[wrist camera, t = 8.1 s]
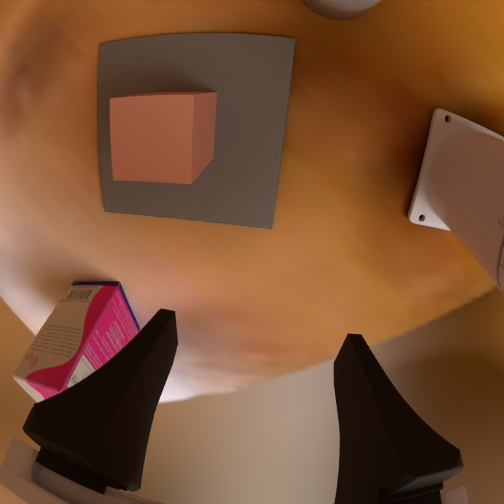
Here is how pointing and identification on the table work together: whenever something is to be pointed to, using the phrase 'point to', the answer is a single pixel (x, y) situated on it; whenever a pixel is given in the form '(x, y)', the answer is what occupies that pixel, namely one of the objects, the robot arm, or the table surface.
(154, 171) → the red block
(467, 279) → the table surface
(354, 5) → the grey domed cylinder
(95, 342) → the supplement box
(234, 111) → the charcoal mat
